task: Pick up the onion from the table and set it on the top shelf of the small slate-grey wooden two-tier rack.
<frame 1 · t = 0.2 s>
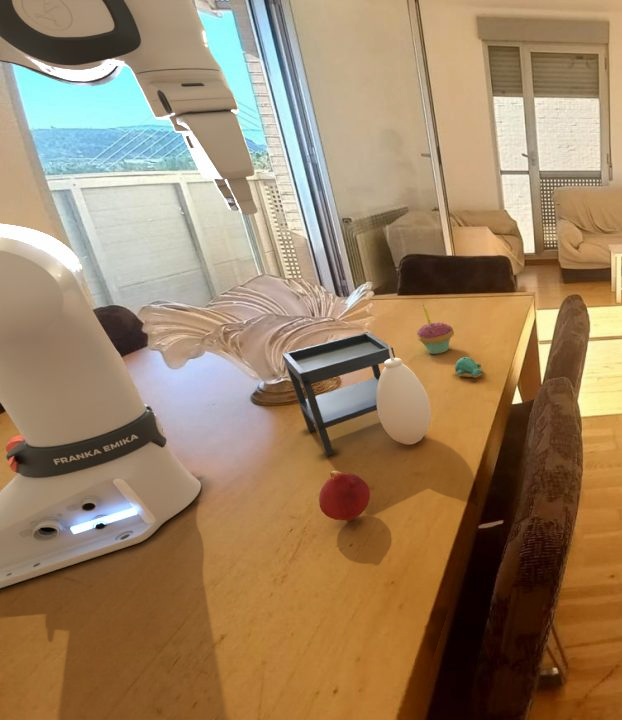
hand: (243, 211, 67), 39 cm above the table, tool pointing down, fingers open, 8 cm apart
teal animal figurine: (470, 376, 106), on the table
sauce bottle: (412, 442, 82), on the table
cupcake: (439, 350, 120), on the table
onion: (352, 519, 65), on the table
rack: (360, 427, 87), on the table
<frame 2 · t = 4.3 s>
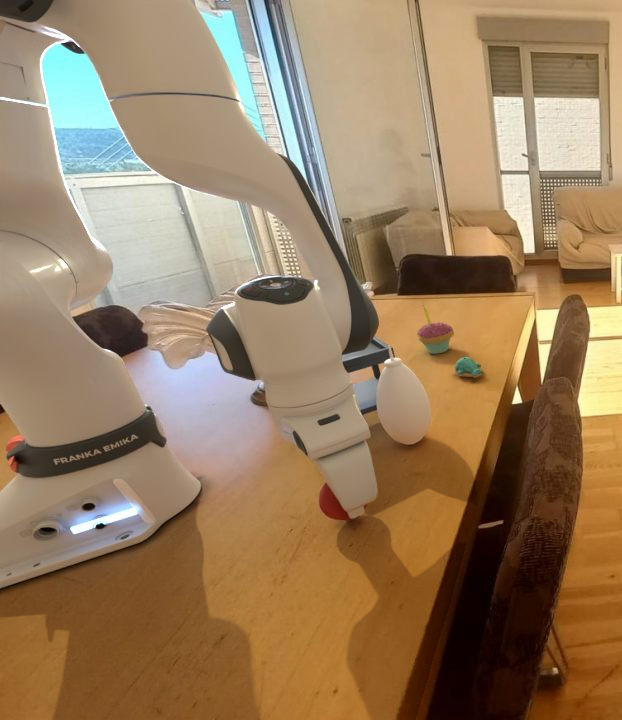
hand: (347, 501, 63), 3 cm above the table, tool pointing down, fingers closed on onion, 6 cm apart
onion: (352, 519, 65), on the table, touching gripper
everything else where it was.
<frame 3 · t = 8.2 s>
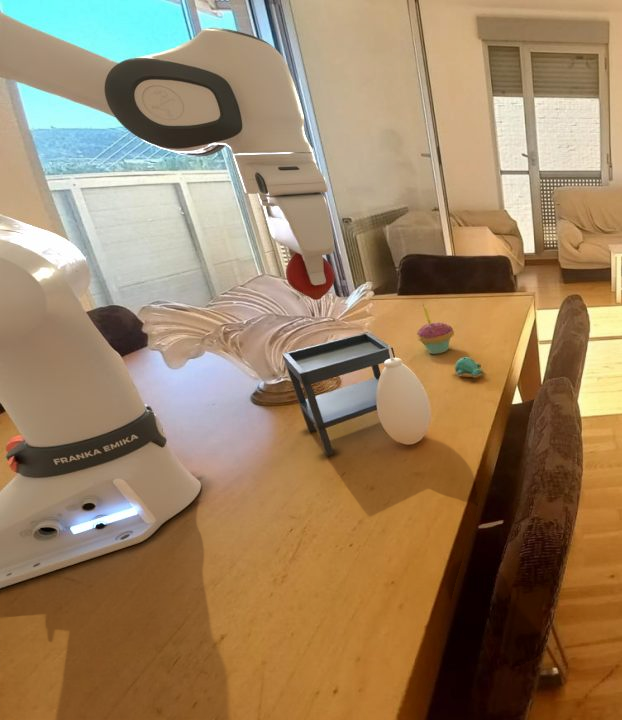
hand: (312, 279, 68), 29 cm above the table, tool pointing down, fingers closed on onion, 6 cm apart
onion: (318, 300, 70), point 26 cm above the table, touching gripper
everything else where it was.
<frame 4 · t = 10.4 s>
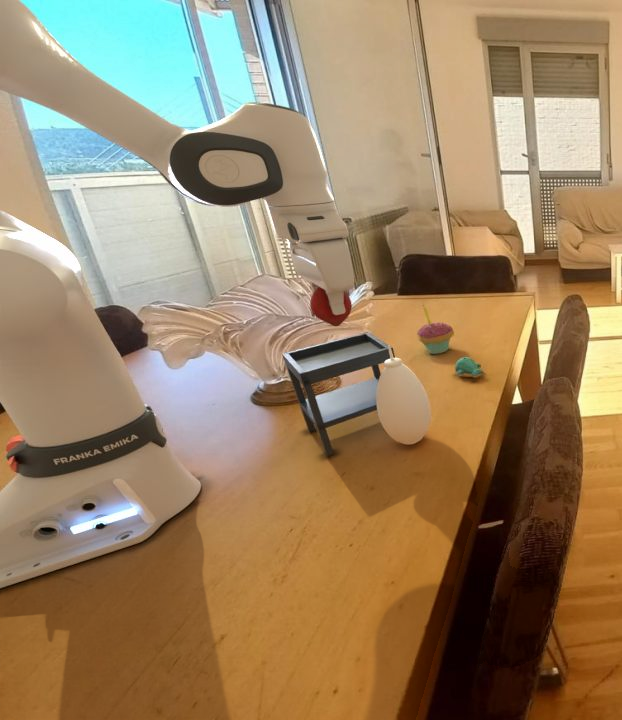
hand: (332, 309, 78), 22 cm above the table, tool pointing down, fingers closed on onion, 6 cm apart
onion: (337, 326, 80), point 19 cm above the table, touching gripper
everything else where it was.
when the fingers open (17 cm above the table, at t = 12.3 s): onion stays where it is, resting on rack.
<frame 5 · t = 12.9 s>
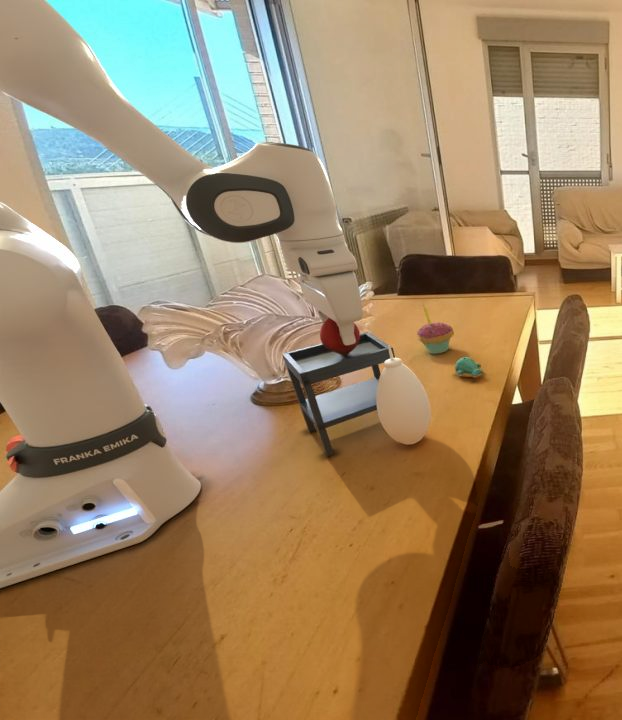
hand: (340, 336, 80), 17 cm above the table, tool pointing down, fingers open, 8 cm apart
onion: (346, 356, 82), point 14 cm above the table, touching rack
everything else where it was.
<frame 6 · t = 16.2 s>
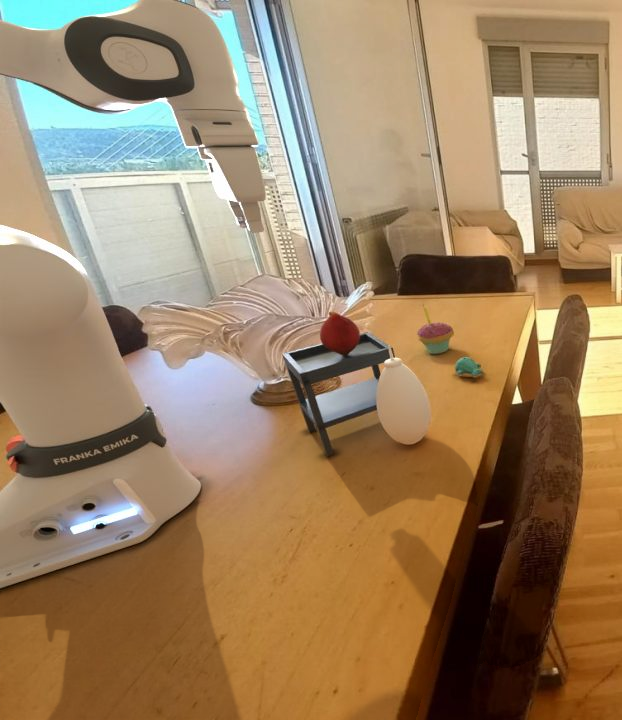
hand: (251, 229, 76), 35 cm above the table, tool pointing down, fingers open, 8 cm apart
nothing on the table moved.
at the end: onion inside the target area on the rack (1.0 cm from its centre), point 13.8 cm above the rack's base; the gripper is holding nothing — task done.
